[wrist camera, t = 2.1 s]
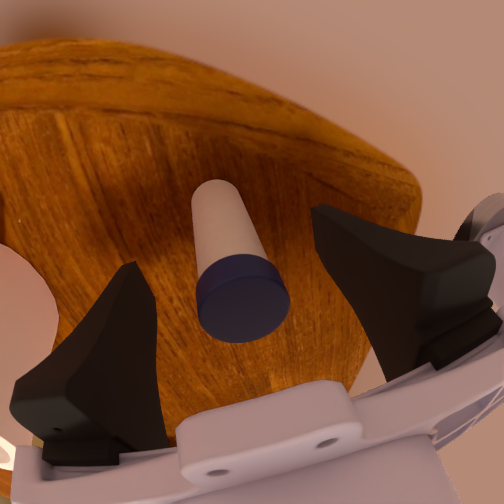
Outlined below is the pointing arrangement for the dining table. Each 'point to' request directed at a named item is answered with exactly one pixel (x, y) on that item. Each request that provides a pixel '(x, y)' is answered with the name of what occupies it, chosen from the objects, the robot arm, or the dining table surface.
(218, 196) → the test tube
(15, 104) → the dining table surface
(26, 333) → the mug
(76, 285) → the dining table surface
